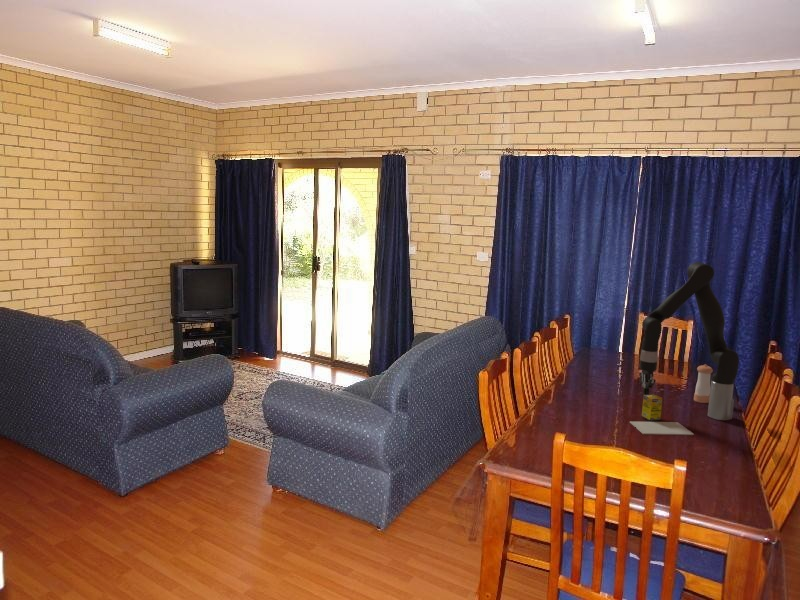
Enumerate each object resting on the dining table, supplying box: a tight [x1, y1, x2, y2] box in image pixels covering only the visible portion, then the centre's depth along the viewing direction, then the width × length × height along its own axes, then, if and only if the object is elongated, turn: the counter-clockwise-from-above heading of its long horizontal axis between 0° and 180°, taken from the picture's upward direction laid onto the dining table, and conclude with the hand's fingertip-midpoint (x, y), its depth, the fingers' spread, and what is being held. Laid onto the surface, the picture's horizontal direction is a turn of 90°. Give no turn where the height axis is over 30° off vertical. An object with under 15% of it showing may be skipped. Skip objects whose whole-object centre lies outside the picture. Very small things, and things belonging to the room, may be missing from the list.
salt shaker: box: [693, 363, 714, 404], centre depth 292 cm, size 7×7×19 cm
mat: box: [629, 421, 695, 436], centre depth 253 cm, size 22×14×1 cm, turn 91°
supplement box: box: [641, 393, 663, 422], centre depth 264 cm, size 6×6×11 cm
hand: (645, 395), depth 271 cm, fingers closed
